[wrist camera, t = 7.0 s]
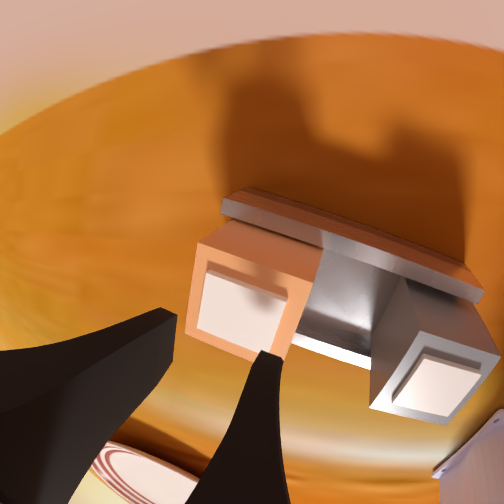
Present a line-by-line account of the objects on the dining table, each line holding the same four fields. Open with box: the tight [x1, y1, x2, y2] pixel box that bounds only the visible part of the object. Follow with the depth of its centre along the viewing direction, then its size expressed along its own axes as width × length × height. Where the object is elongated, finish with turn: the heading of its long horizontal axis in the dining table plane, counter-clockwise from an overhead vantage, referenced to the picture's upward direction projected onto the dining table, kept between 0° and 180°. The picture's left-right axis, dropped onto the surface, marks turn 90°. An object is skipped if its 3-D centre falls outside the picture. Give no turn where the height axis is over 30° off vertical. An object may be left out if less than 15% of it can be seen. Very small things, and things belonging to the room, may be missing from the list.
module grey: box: [369, 276, 501, 425], centre depth 11 cm, size 4×4×5 cm
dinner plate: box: [91, 441, 200, 504], centre depth 32 cm, size 28×27×3 cm
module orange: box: [185, 218, 324, 362], centre depth 13 cm, size 4×4×5 cm
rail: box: [220, 187, 485, 369], centre depth 14 cm, size 6×12×3 cm, turn 76°
